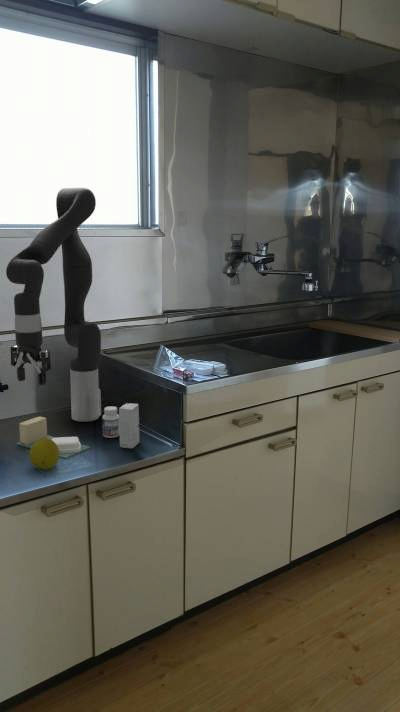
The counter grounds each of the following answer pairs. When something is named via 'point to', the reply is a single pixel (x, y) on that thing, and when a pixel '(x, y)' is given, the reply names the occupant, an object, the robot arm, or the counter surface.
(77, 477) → the counter surface
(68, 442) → the soap
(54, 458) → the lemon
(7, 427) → the counter surface
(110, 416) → the pill bottle
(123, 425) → the skincare box
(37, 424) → the pale green tray
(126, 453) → the counter surface
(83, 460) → the counter surface
